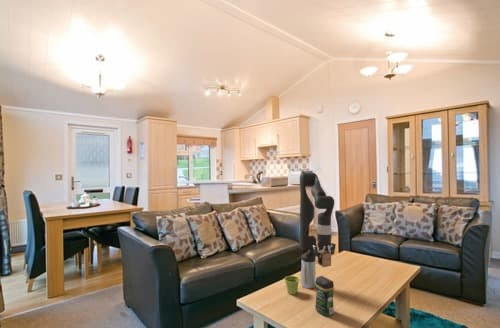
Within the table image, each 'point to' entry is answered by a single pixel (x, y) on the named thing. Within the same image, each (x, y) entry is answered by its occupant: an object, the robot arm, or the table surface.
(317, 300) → the coffee jar
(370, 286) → the table surface
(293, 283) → the plant pot
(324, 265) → the walnut block
